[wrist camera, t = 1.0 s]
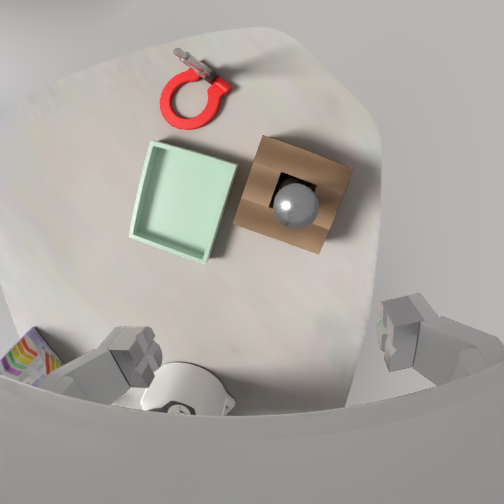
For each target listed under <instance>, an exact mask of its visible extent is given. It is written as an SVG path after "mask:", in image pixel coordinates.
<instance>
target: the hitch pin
mask: <svg viewBox="0 0 504 504" xmlns="http://www.w3.org/2000/svg"><path fill="white" fill-rule="evenodd" d="M273 208H274V214H275V216H276V218H277V220H278V221H279V222H280V223H281V224H282V225H284V226H285V227H287V228H290V229H302V228H305V227H307V226H309V225H310V224H311V223H313V221H314V220H315V219H316V217H317V215H318V211H319V203H318V199H317V197H316V195H315V194H314V192H313V191H312V190H311V189H310V188H308V187H307V186H305V185H302V184H301V183H300V182H299V181H298V180H296V179H291V178H290V179H286V180H284V181H283V182H282V183H281V184H280V186H279V192H278V193H277V195H276V197H275V199H274V205H273Z"/></svg>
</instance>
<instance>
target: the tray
mask: <svg viewBox="0 0 504 504" xmlns="http://www.w3.org/2000/svg"><path fill="white" fill-rule="evenodd" d="M238 167H239V164H236V163H233V162H230V161H226V160H223V159H220V158H217V157H214V156H210V155H207V154H204V153H200V152H197V151H193V150H190V149H186V148H183V147H179V146H176V145H172V144H168V143H164V142H161V141H151V140H150V144H149V148H148V151H147V155H146V159H145V163H144V167H143V171H142V175H141V179H140V183H139V187H138V192H137V196H136V201H135V206H134V211H133V216H132V221H131V227H130V232H129V237H130V238H133V239H135V240H138V241H141V242H143V243H146V244H149V245H151V246H154V247H157V248H159V249H162V250H165V251H167V252H170V253H173V254H176V255H178V256H181V257H184V258H187V259H189V260H192V261H195V262H198V263H200V264H203V265H206V263H207V262H208V260H209V258H210V255H211V252H212V248H213V245H214V242H215V239H216V235H217V232H218V229H219V226H220V222H221V219H222V216H223V213H224V210H225V207H226V203H227V200H228V197H229V194H230V191H231V188H232V185H233V182H234V179H235V176H236V173H237V170H238Z"/></svg>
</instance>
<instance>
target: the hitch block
mask: <svg viewBox="0 0 504 504" xmlns="http://www.w3.org/2000/svg"><path fill="white" fill-rule="evenodd" d="M281 172H283V173H286V174H289V175H292V176H294V177H297V178H300V179H302V180H305V181H308V182H310V183H311V186H310V189H311V190H312V191H313V192H314V194H315V195H316V197H317V199H318V203H319V211H318V215H317V217H316V219H315V220H314V221H313V223H311V224H310V225H309V226H307V227H305V228H302V229H290V228H287V227H285V226H284V225H282V224H281V223H280V222H279V221H278V220H277V218H276V216H275V214H274V208H273V205H274V202H273V201H271V198H272V196H273V193H274V190H275V187H276V184H277V182H278V179H279V176H280V173H281ZM352 172H353V169H350V168H348V167H346V166H344V165H341V164H339V163H336V162H334V161H332V160H329V159H327V158H324V157H322V156H319V155H317V154H314V153H312V152H309V151H306V150H304V149H301V148H298V147H296V146H293V145H290V144H287V143H285V142H282V141H279V140H276V139H273V138H270V137H267V136H264V135H263V136H262V139H261V142H260V145H259V147H258V150H257V153H256V156H255V159H254V162H253V165H252V168H251V171H250V173H249V176H248V179H247V182H246V185H245V188H244V191H243V194H242V197H241V200H240V203H239V206H238V209H237V212H236V215H235V218H234V221H233V224H234V225H237V226H240V227H243V228H246V229H249V230H252V231H255V232H257V233H260V234H263V235H266V236H269V237H272V238H274V239H277V240H280V241H283V242H286V243H288V244H291V245H294V246H297V247H300V248H302V249H305V250H308V251H311V252H313V253H316V254H319V253H320V251H321V248H322V246H323V244H324V241H325V239H326V237H327V234H328V232H329V230H330V227H331V225H332V222H333V220H334V217H335V215H336V213H337V210H338V208H339V205H340V203H341V200H342V198H343V195H344V193H345V190H346V188H347V185H348V182H349V180H350V177H351V175H352Z"/></svg>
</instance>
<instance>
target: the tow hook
mask: <svg viewBox="0 0 504 504" xmlns="http://www.w3.org/2000/svg"><path fill="white" fill-rule="evenodd" d="M173 53H174V54H175V55H176V56H178V57H179V60H180V61H181V62H183V63H184V64H186V65H187V66H189V67H190V68H189V70H188V71H186V72H182V73H180V74H178V75H176V76H175V77H173V78H172V79H171V80H170V81H169V82H168V83H167V84H166V86H165V87H164V89H163V91H162V93H161V98H160V109H161V112H162V115H163V117H164V118H165V120H166V121H167V122H168V123H169V124H170V125H172V126H174V127H176V128H178V129H185V130H191V129H197V128H199V127H202V126H204V125H205V124H207V123H208V122H209V121H210V120H211V119H212V118H213V117H214V116H215V114H216V112H217V110H218V108H219V105H220V100H221V97H222V96H223V95H224V94H227V93H228V92H229V91H230V90H231V89H232V86H230V85H229V84H228V83H227V82H225V81H224V80H223V79H222V78H220V76H219V75H218V74H217V73H216V72H214V71H213V70H212V69H211V68H209V67H208V66H207V65H205V64H204V63H201V62H200V61H198V60H197V59H196V58H195V57H193V56H192V55H191V54H190V53H188V52H184V51H183V50H181V49H180V48H176V49H174V51H173ZM200 77H202V78H203V79H205V80H206V81H207V82H208V83H210V84H211V85H212V86H211V87H210V88H209V89H208V90H207V92H208V103H207V106H206V108H205V109H204V111H203V112H202V113H201V114H199V115H198V116H196V117H194V118H190V119H183V118H181V117H179V116H178V115H176V113H175V112H174V111H173V108H172V103H171V101H172V96H173V94H174V92H175V90H176V89H177V88H178V87H179V86H181V85H182V84H184V83H186V82H191V81H192V82H196V81H197V80H198V79H199V78H200Z"/></svg>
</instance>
